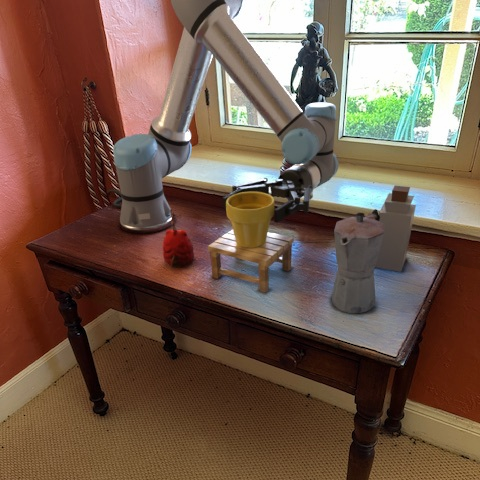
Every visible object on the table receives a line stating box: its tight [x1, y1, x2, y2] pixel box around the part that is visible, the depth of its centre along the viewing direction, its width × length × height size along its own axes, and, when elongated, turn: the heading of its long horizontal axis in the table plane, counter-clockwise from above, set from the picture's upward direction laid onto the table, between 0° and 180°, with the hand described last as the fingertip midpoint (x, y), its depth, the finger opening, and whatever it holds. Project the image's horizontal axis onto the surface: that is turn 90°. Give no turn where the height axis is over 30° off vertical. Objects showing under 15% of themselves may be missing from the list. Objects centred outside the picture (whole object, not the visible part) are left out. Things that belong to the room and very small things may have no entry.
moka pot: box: [331, 208, 384, 314], centre depth 90 cm, size 10×15×20 cm, turn 146°
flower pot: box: [225, 192, 276, 248], centre depth 100 cm, size 10×10×10 cm
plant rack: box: [207, 228, 295, 293], centre depth 105 cm, size 15×13×8 cm
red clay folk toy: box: [162, 208, 195, 269], centre depth 108 cm, size 8×7×15 cm
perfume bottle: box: [374, 185, 417, 273], centre depth 103 cm, size 7×7×18 cm
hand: (249, 210), depth 98 cm, fingers open, 13 cm apart
